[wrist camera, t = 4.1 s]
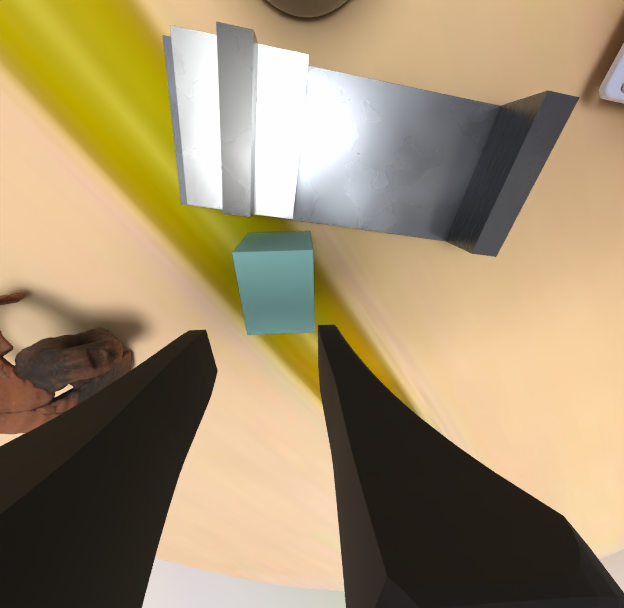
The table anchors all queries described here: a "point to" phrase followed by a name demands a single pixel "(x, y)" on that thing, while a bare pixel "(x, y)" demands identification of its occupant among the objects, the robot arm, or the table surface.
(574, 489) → the table surface
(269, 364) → the table surface
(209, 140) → the grey stepped block
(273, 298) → the teal block
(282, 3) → the supplement bottle
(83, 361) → the brown looped part
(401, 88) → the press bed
